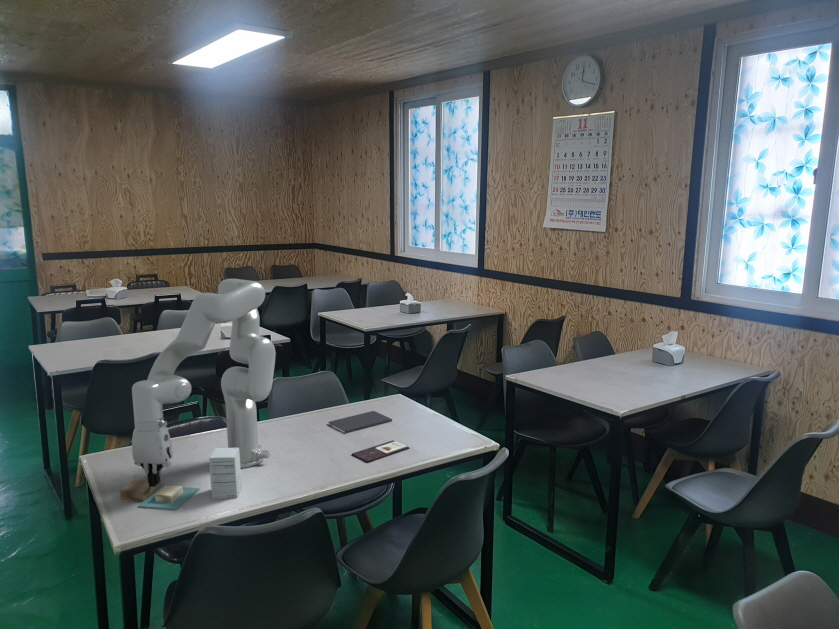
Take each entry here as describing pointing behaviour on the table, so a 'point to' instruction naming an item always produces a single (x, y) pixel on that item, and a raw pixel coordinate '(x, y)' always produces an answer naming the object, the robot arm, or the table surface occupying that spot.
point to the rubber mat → (174, 505)
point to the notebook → (359, 422)
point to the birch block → (169, 493)
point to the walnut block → (137, 491)
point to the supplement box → (225, 473)
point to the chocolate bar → (380, 451)
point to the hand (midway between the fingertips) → (154, 484)
